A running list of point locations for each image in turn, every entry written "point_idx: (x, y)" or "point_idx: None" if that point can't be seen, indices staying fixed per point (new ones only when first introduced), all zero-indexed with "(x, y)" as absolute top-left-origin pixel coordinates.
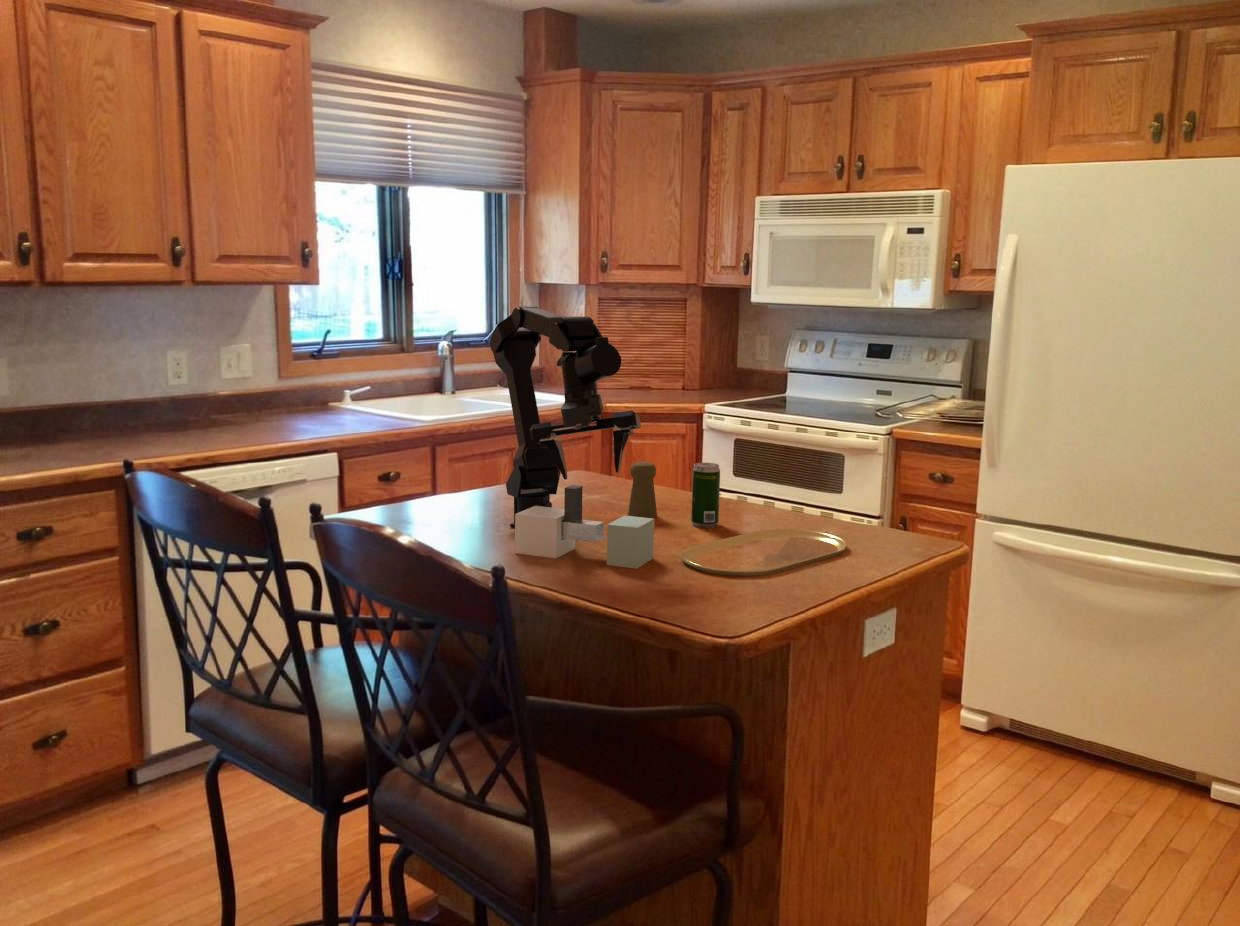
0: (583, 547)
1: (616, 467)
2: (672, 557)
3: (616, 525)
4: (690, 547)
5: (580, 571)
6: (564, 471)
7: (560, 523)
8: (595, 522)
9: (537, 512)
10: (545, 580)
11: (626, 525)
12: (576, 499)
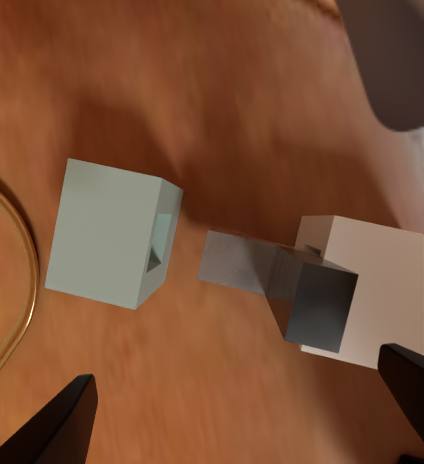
0: (262, 322)
1: (73, 390)
2: None
3: (133, 172)
4: (25, 324)
5: (227, 127)
6: (417, 364)
7: (320, 242)
8: (218, 267)
9: (418, 290)
10: (284, 39)
11: (105, 179)
12: (288, 267)
